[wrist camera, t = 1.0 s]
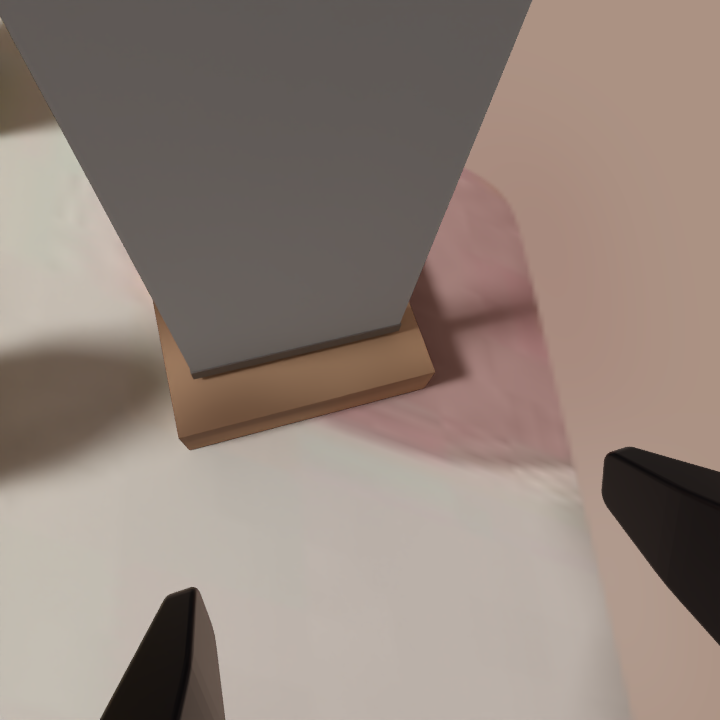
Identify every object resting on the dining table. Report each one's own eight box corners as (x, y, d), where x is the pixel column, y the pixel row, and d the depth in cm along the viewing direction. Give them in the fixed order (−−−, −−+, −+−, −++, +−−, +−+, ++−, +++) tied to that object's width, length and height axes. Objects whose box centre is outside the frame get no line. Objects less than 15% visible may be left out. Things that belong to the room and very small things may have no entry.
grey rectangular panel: (398, 331, 21) (555, -46, 8) (194, 380, 19) (-13, 2, 6) (389, 308, 21) (528, -90, 9) (188, 353, 20) (-18, -55, 7)
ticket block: (424, 388, 23) (435, 372, 21) (189, 450, 21) (178, 438, 19) (357, 203, 26) (361, 175, 24) (149, 241, 24) (136, 213, 22)
